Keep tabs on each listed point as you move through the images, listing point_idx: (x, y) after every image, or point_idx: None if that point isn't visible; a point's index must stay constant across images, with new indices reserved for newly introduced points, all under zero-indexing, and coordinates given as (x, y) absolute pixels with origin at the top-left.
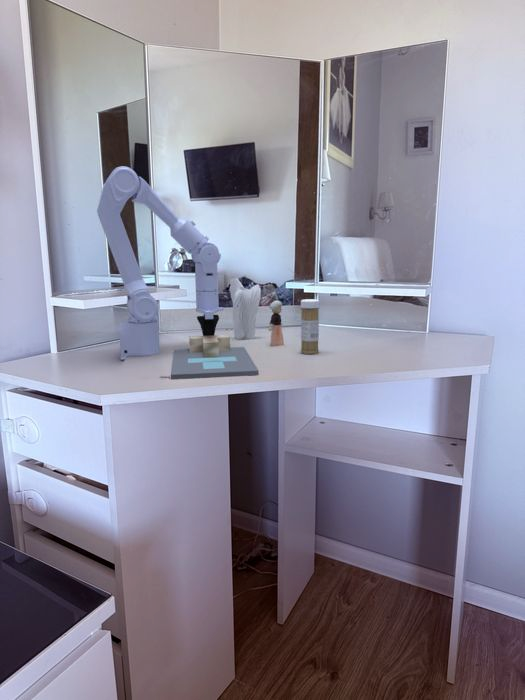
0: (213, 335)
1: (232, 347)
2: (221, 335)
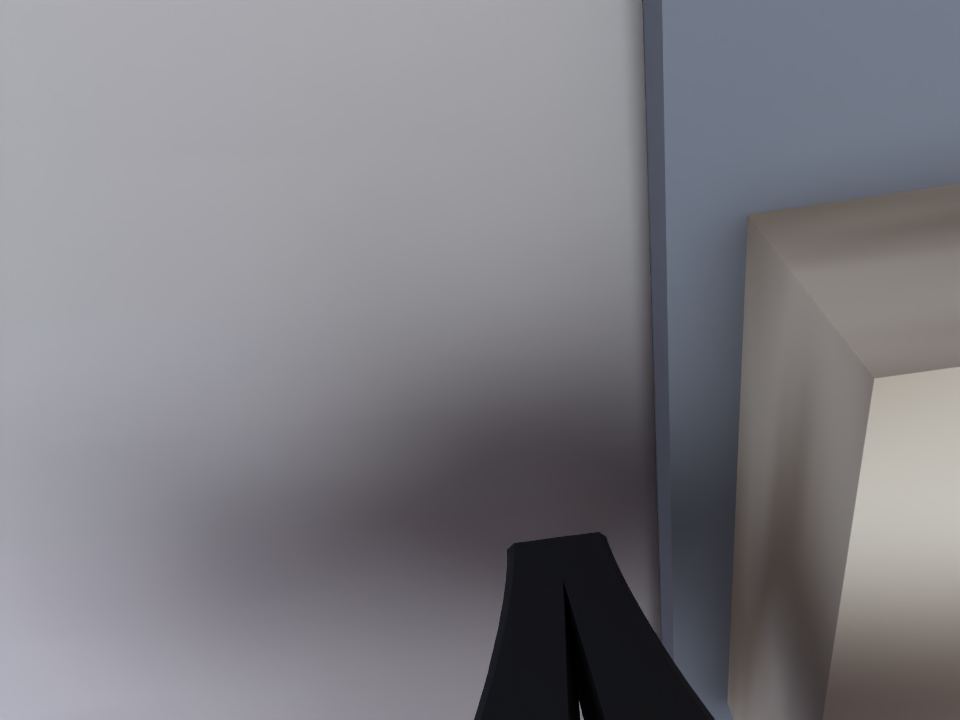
0: (840, 656)
1: (672, 148)
2: (902, 524)
